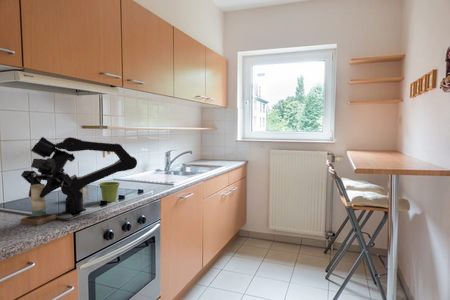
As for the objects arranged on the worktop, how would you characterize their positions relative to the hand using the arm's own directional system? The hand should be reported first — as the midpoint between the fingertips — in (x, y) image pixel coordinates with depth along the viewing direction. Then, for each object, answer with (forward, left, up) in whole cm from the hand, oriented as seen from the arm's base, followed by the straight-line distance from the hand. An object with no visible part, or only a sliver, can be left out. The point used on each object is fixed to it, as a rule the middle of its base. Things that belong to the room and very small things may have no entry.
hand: (35, 196), depth 108 cm
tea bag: (-34, -9, -10) cm, 37 cm away
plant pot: (-36, +6, -10) cm, 38 cm away
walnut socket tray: (-1, 0, -10) cm, 10 cm away
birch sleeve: (-2, 0, -7) cm, 7 cm away
